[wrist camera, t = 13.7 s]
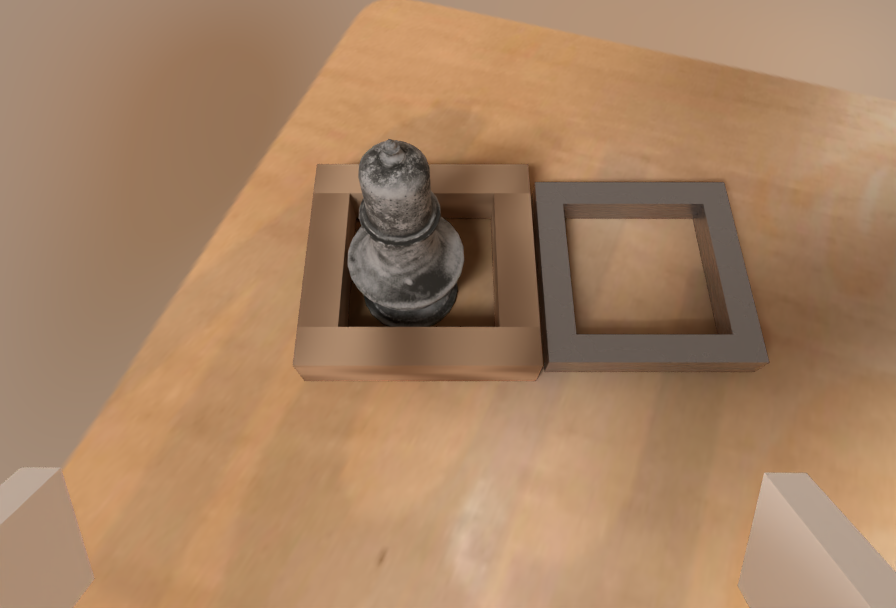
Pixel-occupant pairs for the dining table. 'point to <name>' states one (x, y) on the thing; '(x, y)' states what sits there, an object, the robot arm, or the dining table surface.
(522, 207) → the walnut holder block
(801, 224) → the dining table surface
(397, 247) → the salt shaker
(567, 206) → the metal collar
